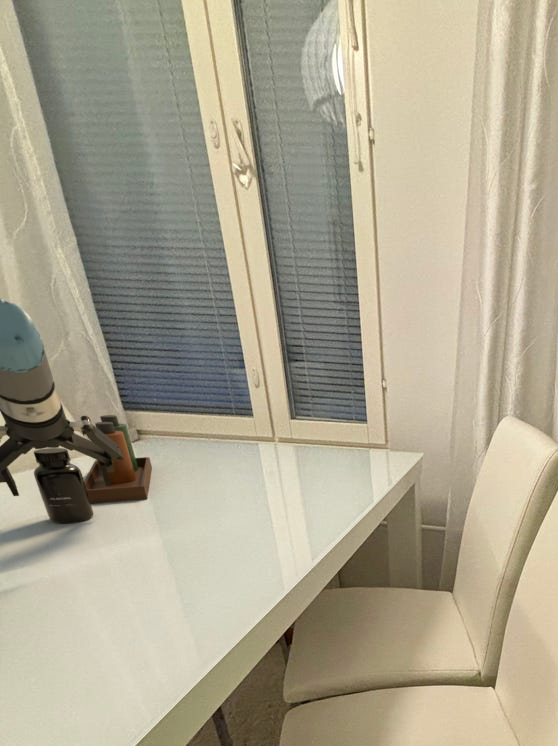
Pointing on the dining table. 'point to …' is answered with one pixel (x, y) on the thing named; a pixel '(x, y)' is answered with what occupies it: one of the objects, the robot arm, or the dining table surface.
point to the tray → (122, 490)
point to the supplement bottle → (61, 486)
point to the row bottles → (120, 437)
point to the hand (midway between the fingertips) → (62, 484)
